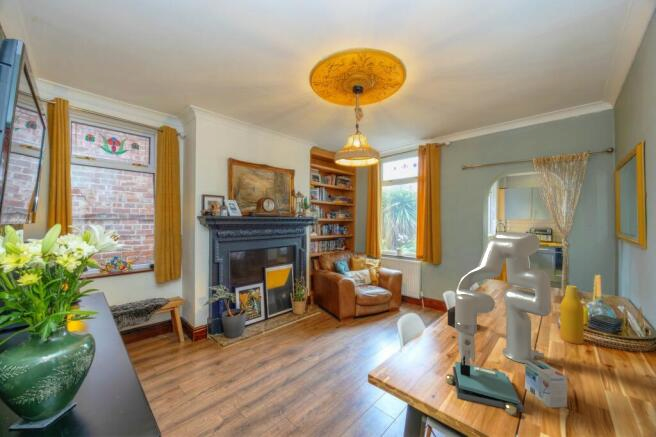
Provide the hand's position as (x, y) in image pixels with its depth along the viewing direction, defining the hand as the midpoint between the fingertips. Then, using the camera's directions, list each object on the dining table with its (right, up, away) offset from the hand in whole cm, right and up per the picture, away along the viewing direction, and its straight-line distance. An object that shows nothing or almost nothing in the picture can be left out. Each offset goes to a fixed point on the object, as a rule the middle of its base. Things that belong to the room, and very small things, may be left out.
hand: (465, 374), depth 102 cm
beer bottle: (+77, -5, +38) cm, 86 cm away
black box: (+28, -5, +56) cm, 63 cm away
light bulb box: (+26, -5, -6) cm, 27 cm away
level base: (+5, -5, -1) cm, 7 cm away
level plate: (+6, -2, -2) cm, 6 cm away
